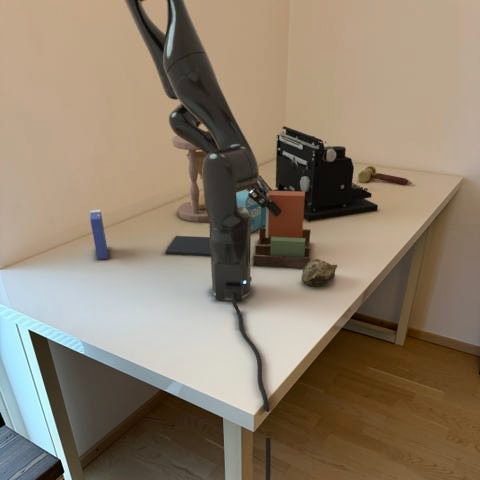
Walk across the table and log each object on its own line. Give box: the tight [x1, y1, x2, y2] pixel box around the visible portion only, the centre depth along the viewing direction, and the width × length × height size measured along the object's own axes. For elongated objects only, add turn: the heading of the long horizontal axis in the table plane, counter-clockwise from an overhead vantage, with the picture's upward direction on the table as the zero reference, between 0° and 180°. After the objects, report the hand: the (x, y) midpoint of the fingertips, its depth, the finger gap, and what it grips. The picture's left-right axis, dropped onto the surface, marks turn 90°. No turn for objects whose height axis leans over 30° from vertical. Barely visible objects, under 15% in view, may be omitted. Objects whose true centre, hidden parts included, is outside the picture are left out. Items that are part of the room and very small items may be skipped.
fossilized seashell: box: [301, 258, 338, 287], centre depth 116 cm, size 8×7×10 cm
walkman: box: [89, 209, 109, 260], centre depth 129 cm, size 8×3×12 cm, turn 14°
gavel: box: [357, 165, 413, 186], centre depth 191 cm, size 21×5×10 cm
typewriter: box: [272, 125, 379, 223], centre depth 163 cm, size 31×27×25 cm
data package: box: [236, 189, 266, 233], centre depth 145 cm, size 12×4×12 cm, turn 142°
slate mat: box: [164, 235, 211, 257], centre depth 136 cm, size 12×20×1 cm, turn 82°
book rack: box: [252, 227, 311, 269], centre depth 130 cm, size 17×15×4 cm
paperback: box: [270, 237, 306, 257], centre depth 124 cm, size 2×9×7 cm, turn 82°
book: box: [265, 191, 305, 238], centre depth 127 cm, size 4×10×12 cm, turn 82°
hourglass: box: [172, 135, 209, 223], centre depth 154 cm, size 18×18×25 cm
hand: (279, 211), depth 127 cm, fingers closed on book, 4 cm apart
